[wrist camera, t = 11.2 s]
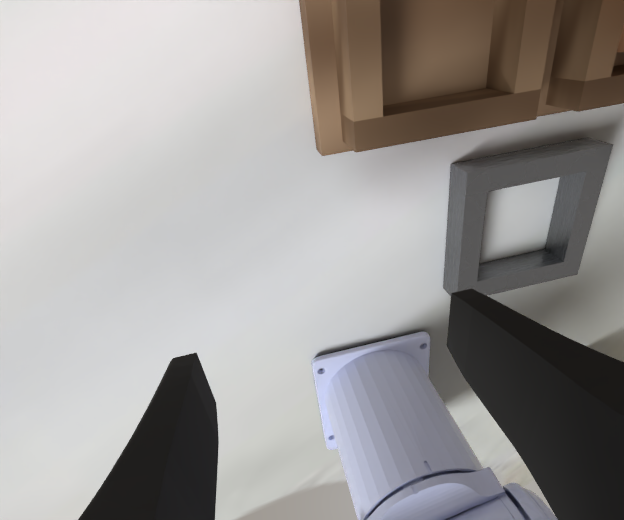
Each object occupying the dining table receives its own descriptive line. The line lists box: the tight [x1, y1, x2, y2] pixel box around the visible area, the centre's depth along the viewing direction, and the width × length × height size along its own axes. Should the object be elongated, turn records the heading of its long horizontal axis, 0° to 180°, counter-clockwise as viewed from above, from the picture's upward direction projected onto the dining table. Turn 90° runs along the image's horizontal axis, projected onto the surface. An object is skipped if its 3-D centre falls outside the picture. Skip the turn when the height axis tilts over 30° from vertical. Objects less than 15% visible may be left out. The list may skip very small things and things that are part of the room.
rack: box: [299, 0, 624, 156], centre depth 16 cm, size 9×20×3 cm, turn 97°
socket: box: [443, 138, 613, 296], centre depth 22 cm, size 8×8×2 cm
